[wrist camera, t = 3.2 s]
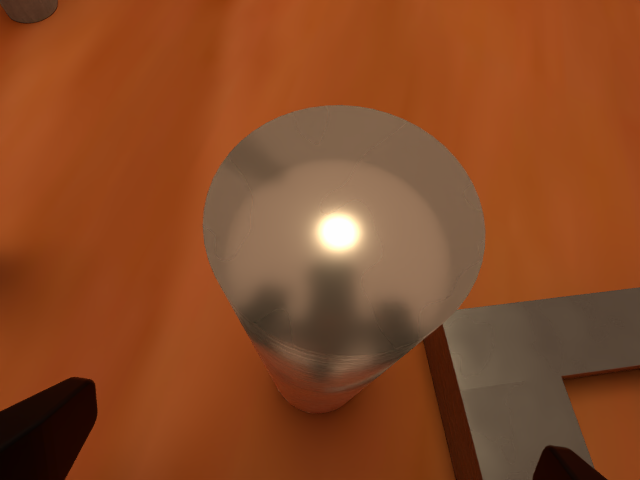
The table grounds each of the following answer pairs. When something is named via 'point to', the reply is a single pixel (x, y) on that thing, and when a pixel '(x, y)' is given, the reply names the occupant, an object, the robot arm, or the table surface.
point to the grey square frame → (525, 376)
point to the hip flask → (29, 9)
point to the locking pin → (341, 245)
